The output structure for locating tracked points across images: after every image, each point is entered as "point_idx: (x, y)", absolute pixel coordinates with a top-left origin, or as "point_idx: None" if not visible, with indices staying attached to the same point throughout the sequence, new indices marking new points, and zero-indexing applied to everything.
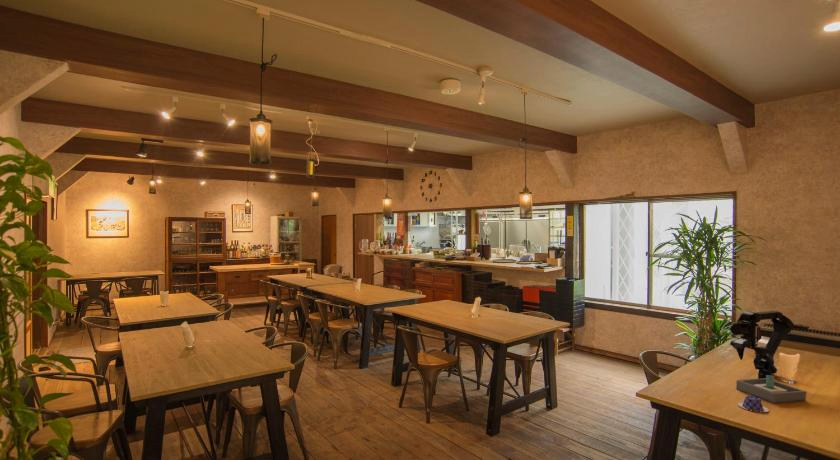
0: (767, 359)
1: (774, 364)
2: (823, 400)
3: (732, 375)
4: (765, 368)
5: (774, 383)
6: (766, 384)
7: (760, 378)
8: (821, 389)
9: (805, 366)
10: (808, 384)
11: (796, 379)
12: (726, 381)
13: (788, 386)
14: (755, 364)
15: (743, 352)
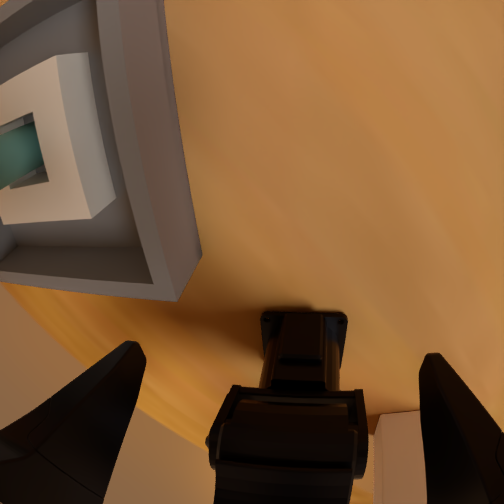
0: (218, 489)
1: (374, 479)
2: (58, 328)
3: (479, 248)
4: (239, 404)
5: (106, 270)
6: (2, 135)
7: (158, 238)
8: (187, 425)
9: None
10: None
11: None
12: (375, 30)
13: (31, 273)
14: (334, 414)
15: (429, 499)
